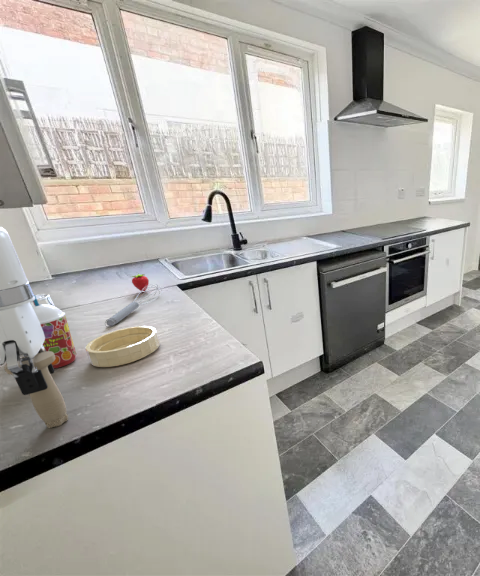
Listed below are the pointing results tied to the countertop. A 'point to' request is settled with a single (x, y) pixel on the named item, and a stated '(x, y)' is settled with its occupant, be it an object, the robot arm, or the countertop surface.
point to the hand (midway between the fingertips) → (39, 382)
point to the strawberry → (140, 282)
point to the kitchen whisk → (127, 309)
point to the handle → (47, 393)
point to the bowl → (122, 346)
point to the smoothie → (55, 333)
